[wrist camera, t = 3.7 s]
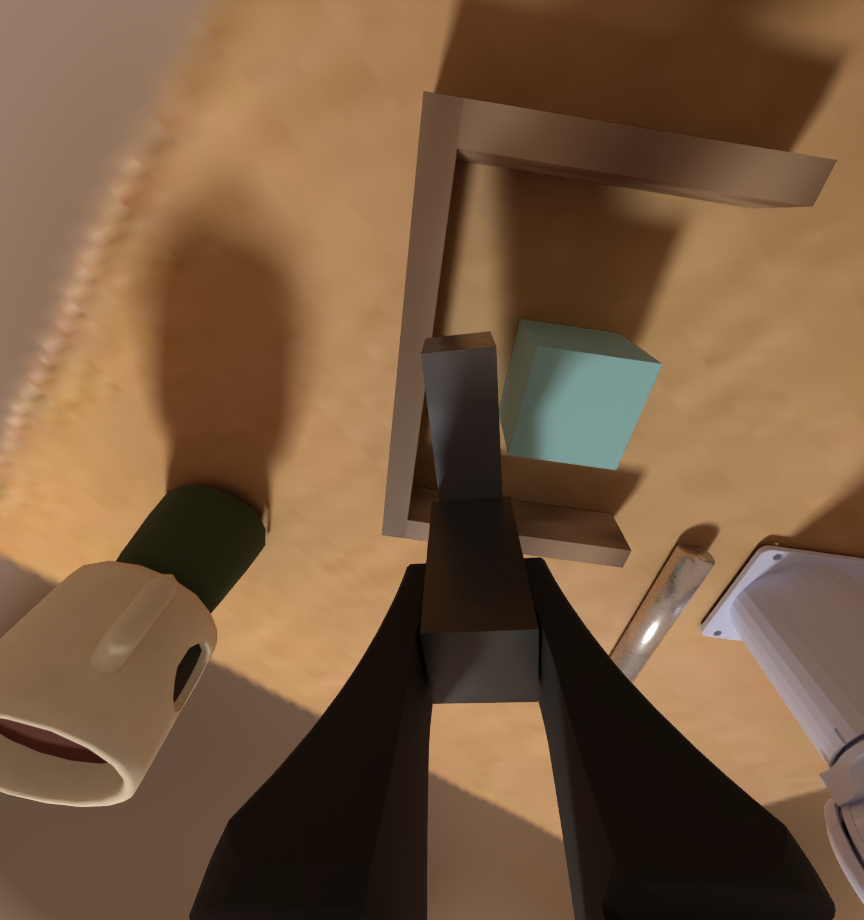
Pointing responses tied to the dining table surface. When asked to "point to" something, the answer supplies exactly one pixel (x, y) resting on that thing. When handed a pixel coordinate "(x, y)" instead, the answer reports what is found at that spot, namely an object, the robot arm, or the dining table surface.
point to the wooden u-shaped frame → (570, 156)
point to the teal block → (573, 394)
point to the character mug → (119, 652)
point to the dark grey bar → (473, 539)
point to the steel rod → (661, 607)
